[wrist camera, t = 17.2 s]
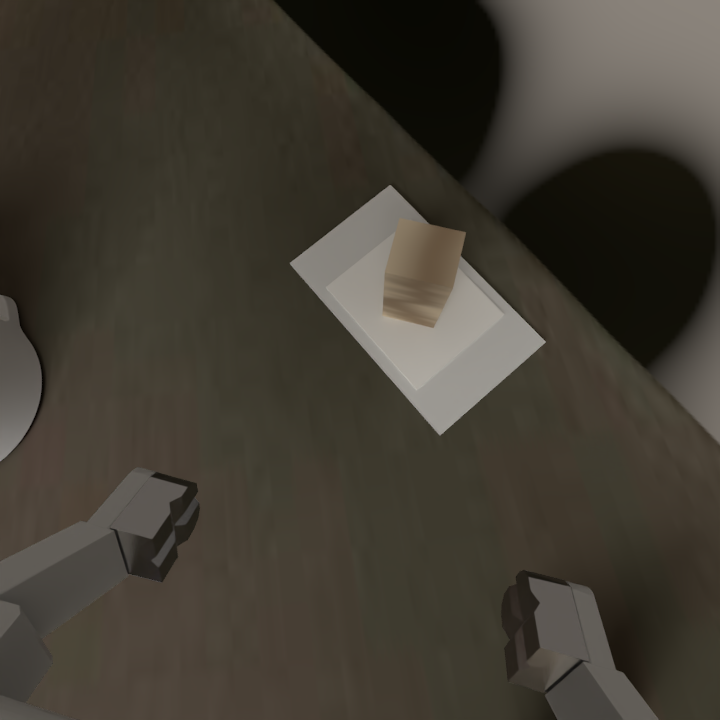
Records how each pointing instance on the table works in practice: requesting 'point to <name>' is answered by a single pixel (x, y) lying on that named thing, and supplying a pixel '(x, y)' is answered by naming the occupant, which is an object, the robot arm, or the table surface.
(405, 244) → the wooden block
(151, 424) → the table surface
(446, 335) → the grey mat
